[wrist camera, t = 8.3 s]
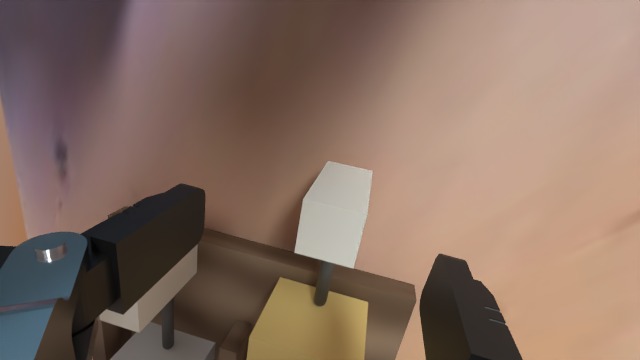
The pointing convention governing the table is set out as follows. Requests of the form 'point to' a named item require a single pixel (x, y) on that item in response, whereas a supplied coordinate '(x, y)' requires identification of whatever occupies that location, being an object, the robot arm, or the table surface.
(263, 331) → the ochre block
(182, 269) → the white block with handle
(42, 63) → the table surface
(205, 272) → the lane rack
